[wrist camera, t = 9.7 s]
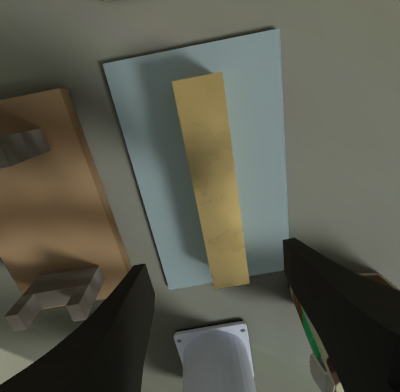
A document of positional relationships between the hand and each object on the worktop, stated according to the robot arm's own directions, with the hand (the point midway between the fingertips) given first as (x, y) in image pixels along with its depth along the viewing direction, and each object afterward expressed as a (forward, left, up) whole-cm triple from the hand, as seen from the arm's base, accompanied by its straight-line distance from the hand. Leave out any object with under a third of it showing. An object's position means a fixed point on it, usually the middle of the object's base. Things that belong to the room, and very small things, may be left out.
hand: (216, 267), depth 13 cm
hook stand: (+1, +13, -9) cm, 16 cm away
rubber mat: (+1, -1, -9) cm, 9 cm away
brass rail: (+1, -1, -7) cm, 7 cm away
